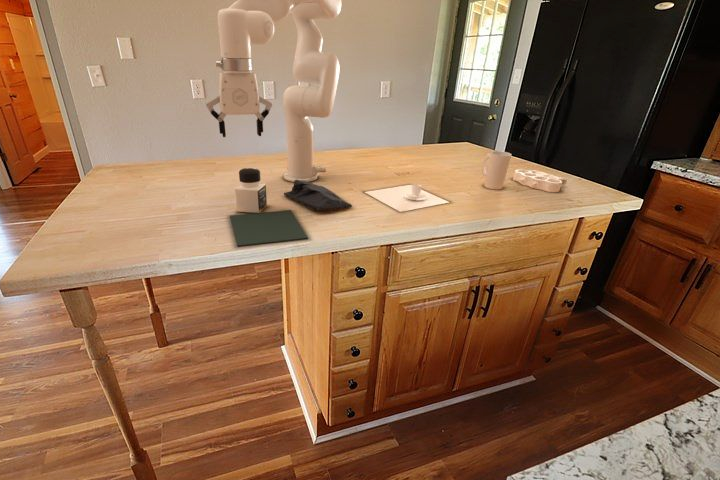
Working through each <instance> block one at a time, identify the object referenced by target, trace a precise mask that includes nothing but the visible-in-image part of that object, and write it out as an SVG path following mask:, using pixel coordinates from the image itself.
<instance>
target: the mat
mask: <svg viewBox="0 0 720 480" xmlns="http://www.w3.org/2000/svg"><path fill="white" fill-rule="evenodd" d="M229 218H230V222H231V227H232V230H233V234H234V235H233V236H234V238H235V242H236V246H237V248H239V247H247V246H258V245H264V244H274V243H285V242H293V241H301V240H308V239H309V237H308V236H307V234H306V232H305V230H304V229H303V227H302V226H301V224H300V223H299V221H298V219H297V218H296V216H295V214H294V213H293V211H292V210H291V209H288V210H287V209H286V210H275V211H274V210H273V211H264V212H262V211H261V212H260V213H243V214H242V213H241V214H231V215H229Z"/></svg>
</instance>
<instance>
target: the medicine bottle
mask: <svg viewBox="0 0 720 480" xmlns="http://www.w3.org/2000/svg"><path fill="white" fill-rule="evenodd" d="M238 176H239V177H238V179H239V185H238V186H236V187H235V188H234V194H235V205H236V212H237V213H238V212H239V213H249V214H251V213H262V211H263V210H264V209H265V208H266V207H267V206H268V201H267V199H268V197H267V185H266V183H264V182H263V183H262V182H261V181H262V179H261V171H260V170H259V169H258V168H255V167H244V168H242V169H240V170H239V171H238Z"/></svg>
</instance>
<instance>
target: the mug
mask: <svg viewBox="0 0 720 480" xmlns="http://www.w3.org/2000/svg"><path fill="white" fill-rule="evenodd" d="M511 159H512V153H510V152H508V151H501V150H494V151H491V152H487V153H486V156H485V157H484V158H483V161H482V165H481V166H482V176H483V177H484V184H483V186H484V188H487V189H490V190H501V189H503V187H504V183H505V180H506V177H507V172H508V169H509V166H510V163H511ZM487 161H488V162H487ZM487 163H488V164H487ZM486 165H487V166H486ZM486 167H487V168H486Z"/></svg>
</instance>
